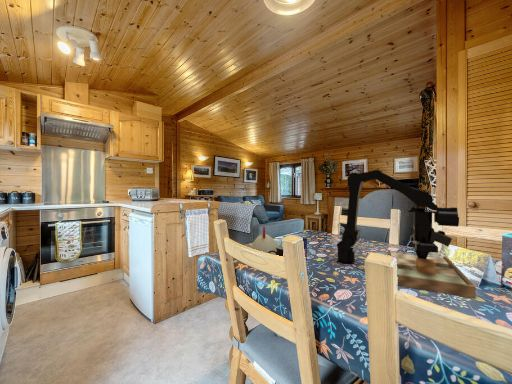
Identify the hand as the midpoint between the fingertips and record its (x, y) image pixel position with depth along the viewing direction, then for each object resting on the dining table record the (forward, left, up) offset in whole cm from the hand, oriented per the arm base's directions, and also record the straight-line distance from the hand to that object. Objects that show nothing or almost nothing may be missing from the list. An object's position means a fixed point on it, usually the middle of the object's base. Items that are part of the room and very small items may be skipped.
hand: (422, 264), depth 89 cm
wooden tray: (0, +2, -4) cm, 4 cm away
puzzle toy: (-48, -8, -4) cm, 49 cm away
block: (0, -4, -1) cm, 4 cm away
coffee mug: (-48, -22, -4) cm, 53 cm away
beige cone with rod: (-62, -11, -4) cm, 63 cm away
